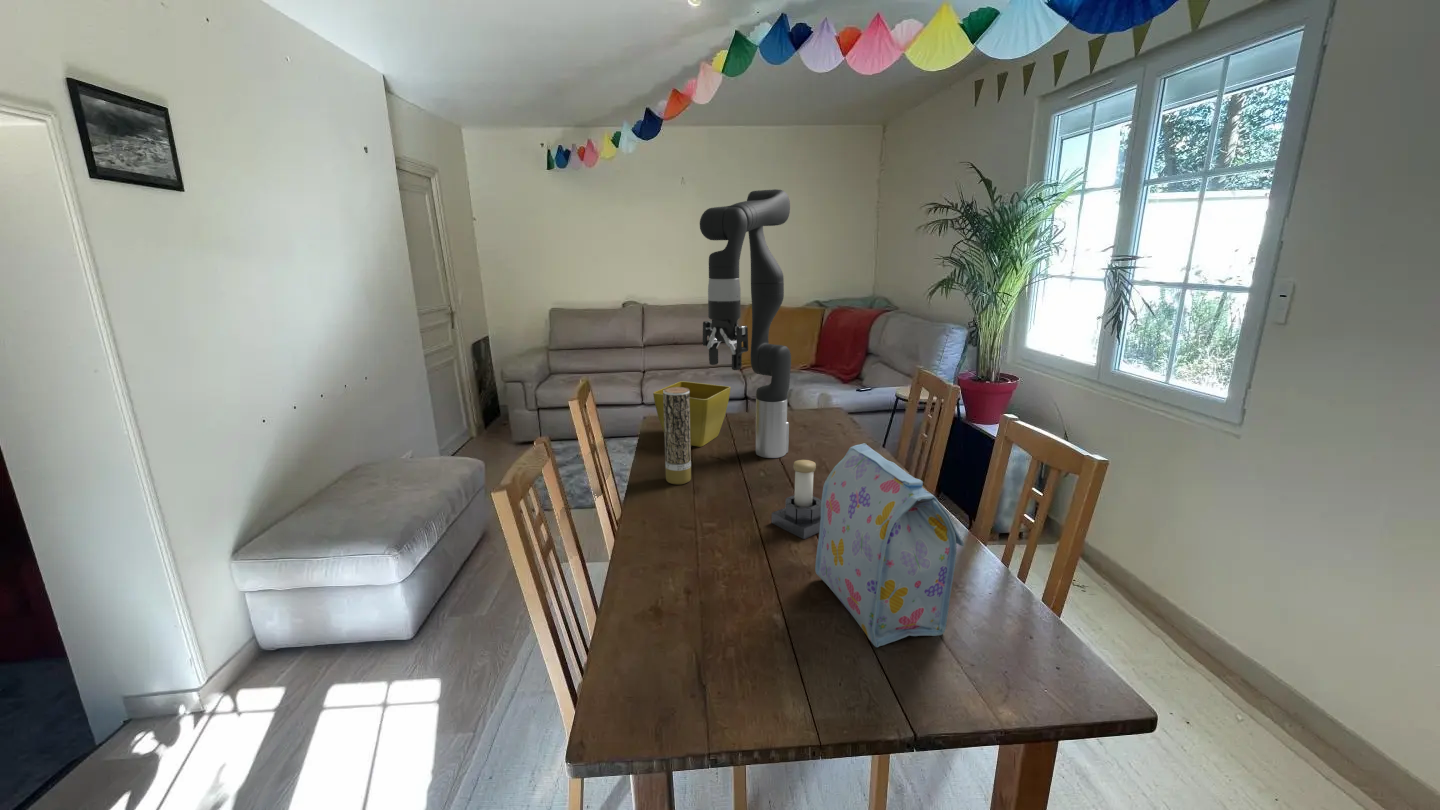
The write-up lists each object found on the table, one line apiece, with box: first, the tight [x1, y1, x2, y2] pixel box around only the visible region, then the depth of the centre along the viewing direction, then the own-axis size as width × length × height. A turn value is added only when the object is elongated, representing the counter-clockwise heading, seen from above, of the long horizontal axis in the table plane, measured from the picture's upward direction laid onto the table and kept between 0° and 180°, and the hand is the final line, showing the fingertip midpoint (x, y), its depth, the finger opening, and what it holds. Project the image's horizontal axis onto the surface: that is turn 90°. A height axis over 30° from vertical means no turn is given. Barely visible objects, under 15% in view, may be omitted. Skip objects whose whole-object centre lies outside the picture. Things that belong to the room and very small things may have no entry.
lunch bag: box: [814, 442, 965, 648], centre depth 99 cm, size 22×17×26 cm
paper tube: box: [663, 387, 692, 485], centre depth 154 cm, size 7×7×25 cm
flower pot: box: [653, 380, 732, 447], centre depth 189 cm, size 19×19×17 cm
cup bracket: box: [771, 494, 822, 540], centre depth 131 cm, size 10×10×6 cm
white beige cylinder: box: [793, 459, 817, 507], centre depth 130 cm, size 5×5×12 cm
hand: (724, 367), depth 140 cm, fingers open, 8 cm apart
